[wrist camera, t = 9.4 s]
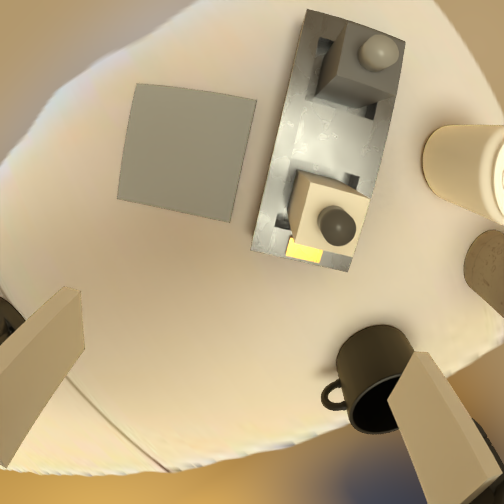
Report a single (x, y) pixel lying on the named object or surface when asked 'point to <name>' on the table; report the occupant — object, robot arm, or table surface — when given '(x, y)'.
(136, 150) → the mat
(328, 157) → the strip
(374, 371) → the mug
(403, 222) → the table surface
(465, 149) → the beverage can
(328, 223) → the plug
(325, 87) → the twin plug
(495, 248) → the thermos bottle
